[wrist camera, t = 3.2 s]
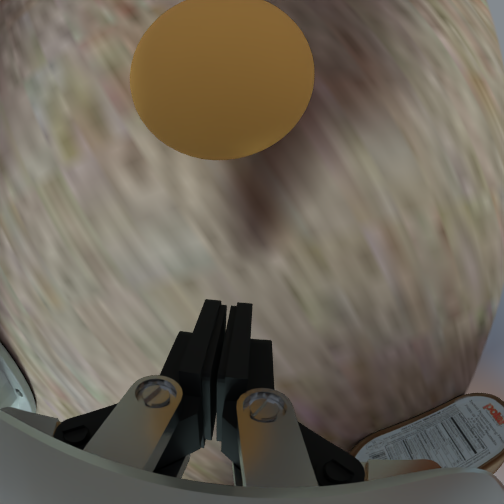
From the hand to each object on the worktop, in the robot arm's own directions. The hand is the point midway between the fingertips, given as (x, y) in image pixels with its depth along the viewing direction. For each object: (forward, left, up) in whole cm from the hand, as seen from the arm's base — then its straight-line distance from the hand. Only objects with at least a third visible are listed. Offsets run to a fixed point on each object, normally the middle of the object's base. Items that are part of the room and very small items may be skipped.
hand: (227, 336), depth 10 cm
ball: (-1, +9, -1) cm, 9 cm away
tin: (+15, -11, -4) cm, 19 cm away
